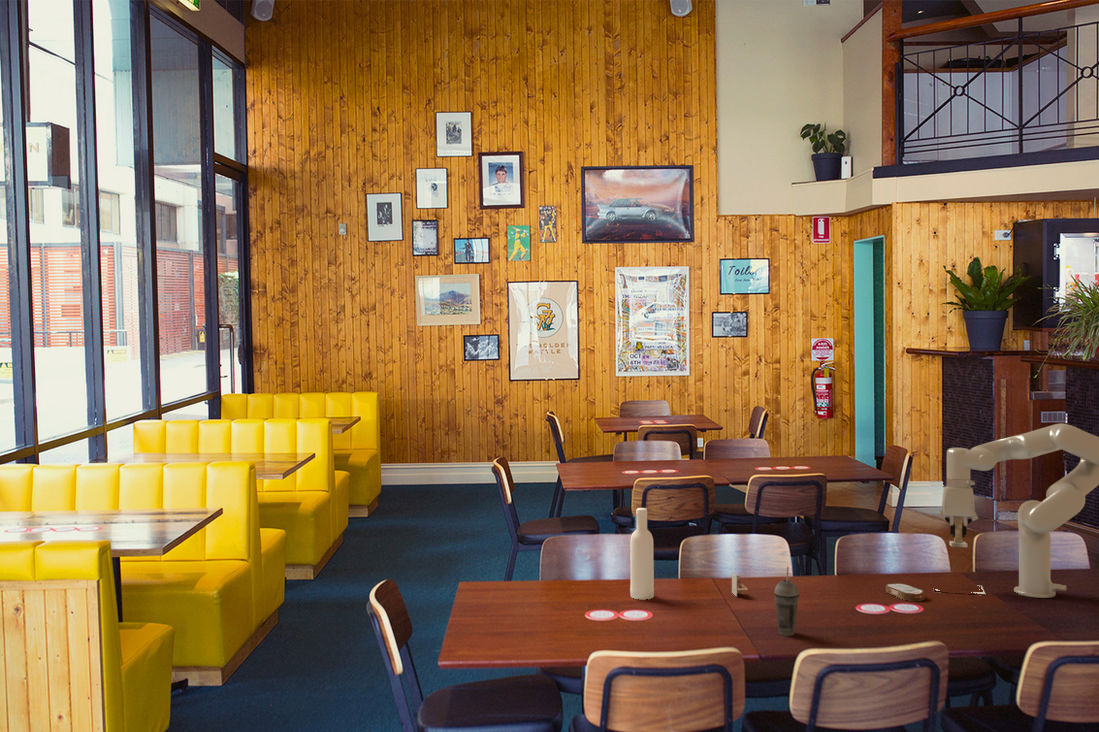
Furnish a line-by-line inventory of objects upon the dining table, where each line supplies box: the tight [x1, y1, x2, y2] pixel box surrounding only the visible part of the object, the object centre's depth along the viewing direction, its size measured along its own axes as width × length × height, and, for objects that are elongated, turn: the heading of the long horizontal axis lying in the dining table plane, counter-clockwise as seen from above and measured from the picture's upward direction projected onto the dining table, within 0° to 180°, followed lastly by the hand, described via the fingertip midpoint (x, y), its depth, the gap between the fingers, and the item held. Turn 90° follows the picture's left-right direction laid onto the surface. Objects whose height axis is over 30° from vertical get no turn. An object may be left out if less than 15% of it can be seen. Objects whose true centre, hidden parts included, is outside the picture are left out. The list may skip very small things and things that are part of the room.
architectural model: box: [731, 573, 748, 597], centre depth 318 cm, size 3×7×7 cm, turn 5°
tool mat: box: [935, 585, 987, 596], centre depth 324 cm, size 16×12×1 cm
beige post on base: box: [949, 517, 968, 548], centre depth 324 cm, size 5×8×11 cm, turn 161°
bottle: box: [629, 507, 655, 601], centre depth 317 cm, size 8×8×30 cm
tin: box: [885, 582, 925, 602], centre depth 317 cm, size 15×3×8 cm
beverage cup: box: [773, 566, 800, 637], centre depth 275 cm, size 7×7×20 cm
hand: (958, 536), depth 324 cm, fingers closed on beige post on base
